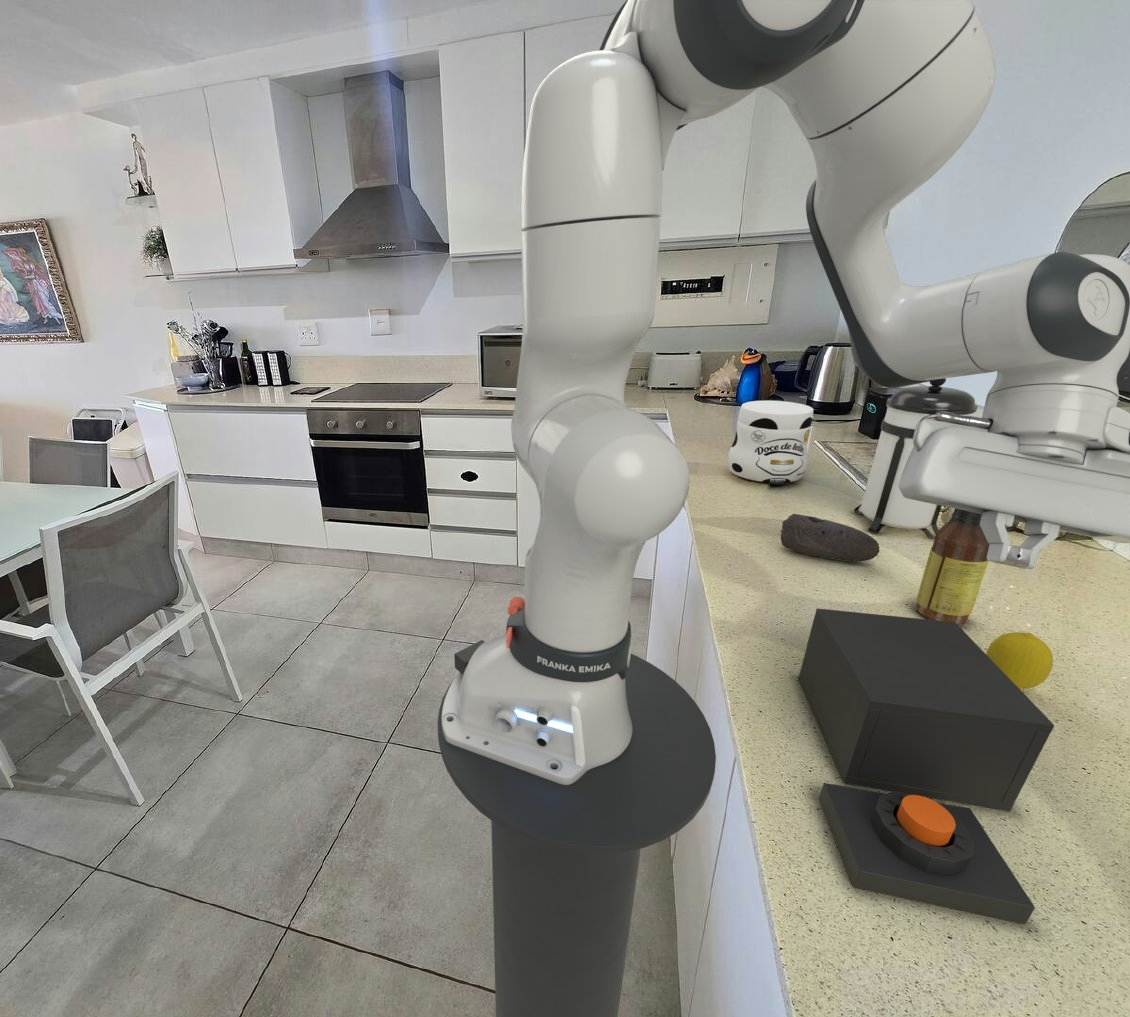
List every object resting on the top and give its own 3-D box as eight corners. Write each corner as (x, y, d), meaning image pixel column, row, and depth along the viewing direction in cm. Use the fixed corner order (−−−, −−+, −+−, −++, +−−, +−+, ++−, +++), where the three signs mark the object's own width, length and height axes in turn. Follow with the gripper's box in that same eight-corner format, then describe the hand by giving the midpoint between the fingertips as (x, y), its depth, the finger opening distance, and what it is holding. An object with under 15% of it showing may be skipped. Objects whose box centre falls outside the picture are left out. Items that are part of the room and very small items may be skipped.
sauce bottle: (978, 623, 79) (1029, 497, 71) (945, 630, 78) (993, 503, 70) (931, 599, 85) (974, 481, 77) (900, 606, 84) (940, 486, 76)
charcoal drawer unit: (797, 679, 70) (816, 608, 66) (926, 696, 66) (955, 622, 62) (843, 783, 56) (871, 700, 52) (1010, 811, 52) (1055, 725, 48)
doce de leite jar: (775, 495, 126) (791, 419, 118) (710, 475, 140) (720, 406, 132) (818, 480, 133) (835, 408, 126) (752, 462, 147) (764, 396, 140)
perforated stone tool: (875, 560, 97) (885, 525, 94) (874, 573, 93) (885, 536, 90) (779, 541, 105) (786, 508, 102) (775, 551, 101) (782, 518, 99)
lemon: (970, 667, 71) (991, 616, 68) (1027, 679, 68) (1052, 626, 65) (984, 694, 66) (1007, 641, 63) (1046, 708, 64) (1073, 653, 61)
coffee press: (964, 531, 105) (1020, 375, 94) (908, 547, 100) (960, 384, 89) (873, 501, 120) (912, 363, 109) (820, 513, 116) (855, 371, 104)
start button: (907, 840, 46) (913, 827, 46) (889, 804, 50) (894, 790, 49) (958, 850, 46) (965, 836, 45) (936, 812, 49) (942, 799, 48)
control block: (853, 887, 47) (864, 856, 45) (818, 798, 55) (827, 769, 53) (1025, 925, 43) (1044, 893, 42) (962, 823, 51) (976, 794, 50)
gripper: (941, 398, 52) (908, 536, 52) (1207, 444, 48) (1173, 596, 47) (902, 415, 59) (872, 538, 58) (1134, 456, 54) (1103, 591, 54)
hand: (1009, 565), depth 53 cm, fingers closed
